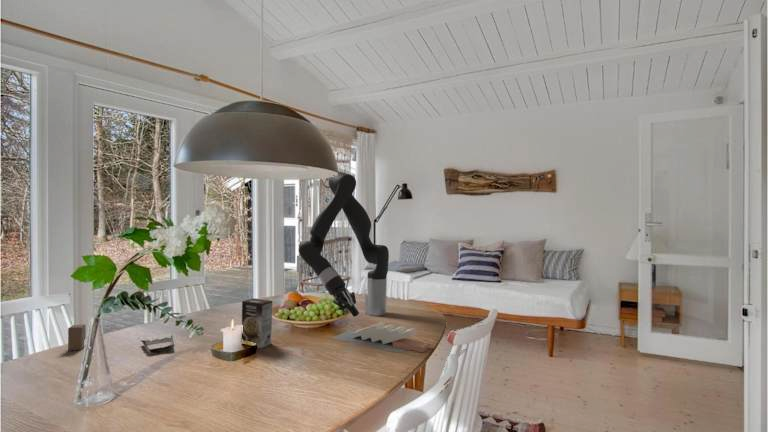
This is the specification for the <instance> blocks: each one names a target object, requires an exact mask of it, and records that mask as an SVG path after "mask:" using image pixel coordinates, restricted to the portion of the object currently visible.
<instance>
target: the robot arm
mask: <svg viewBox="0 0 768 432" xmlns="http://www.w3.org/2000/svg"><path fill="white" fill-rule="evenodd" d="M337 172H338V175H337V176H335V175H333V176H334V177H330V176H328V186H329V189H330V191H331V192H332V194H333V195H334V197H333V198H332V199H331V201H330V202H329V204H327V205H326V207H324V209H322V211H320V213H319V214H318V215H317V216H316V218H315V220H314V222H313V224H312V226H311V228H310V231H309V233H310V235H311V236H310V238H309V239H310V240H308V241H307V240H306V241H302V242H301V243H300V244H299V245H298V254H299V255H300V257H301V258H302V260H303V261H305V263H306V264H307V265H308V266H309V267H310V268H311V269H312V270H313V272H314V273H315V275H316V276H317V278H318V279H319V282H321V285H322V286H323V287H324V288H325V290H326V291H327V293H328V294H329V295H330V296H333V298H334V299H333V300H332V303H333V304H335V305H336V306H338V307H339V308H341V309H342V310H348V311H349V312H350V314H351V315H352V316H353V317H354V318H355V317H358V316H359V314H360V312H359V310H358V309H357V307H356V306H355V305H356V304H357V300H356V294H355V292H354V291H352V292H350V291H349V289H348V288H346V282H345V281H344V279H343V278H342V277H341V275H340V274H339V273H338V271H337V270H336V269H335V268H334V267H333V266H332V264H331V263H330V261H329V260H328V259H327V258H326V257H324V256H322V255H321V253H322V251H323V249H324V244H325V240H326V237H327V236H328V233H329V231H330V230H331V228H332V225H333V223H334V221H335V220H336V218H337V216H338V215H339V213H340V212H341V211H342V212H343V213H344V215H345V217H346V219H347V222H348V223H349V225H350V227H351V230H352V231H353V233H354V235H355V238H356V240H357V242H358V244H359V246H360V247H359V248H360V249H361V252H362V255H363V257H364V259H365V261H366V262H367V263H368V264H373V265H375V266H376V267H375V269H372V270H369V271H368V272H367V282H366V283H367V288H366V290H367V292H366V293H365V302H364V303H365V308H364V310H365V311H364V312H365V313H364V314H367V315H369V316H376V317H377V316H380V317H381V316H384V315H386V314H387V277H388V276H387V275H388V271H389V260H390V259H389V258H390V257H389V256H390V252H389V248H388V247H387V246H386V245H383V244H374V243H373V242H372V240H371V238H370V233H371V229H372V222H371V219H370V217H369V215H368V213H367V211H366V209H365V208H364V207H363V205H362V204H361V203H360V202H359V201H358V200H357V199H356V198H355V196H354V195H353V194H354V191H355V190H356V188H357V180H356V178H355V176H354V175H352V174H349V173H346V172H343V171H337Z"/></svg>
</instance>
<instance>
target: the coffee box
mask: <svg viewBox="0 0 768 432" xmlns="http://www.w3.org/2000/svg"><path fill="white" fill-rule="evenodd" d="M272 323H273V300H269V299H259V298H254V297H253V298H250V299H245V300H242V301H241V326H242V325H243V333H242V332H241V340H242V339H243V340H244V341H250V342H253V343H256V344H257V349H264V348H265V347H267V346H268V345H269V346H270V345H271V344H272V330H273V329H272V325H273V324H272Z"/></svg>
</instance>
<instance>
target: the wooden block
mask: <svg viewBox="0 0 768 432" xmlns="http://www.w3.org/2000/svg"><path fill="white" fill-rule="evenodd" d="M86 327H87V326H86V324H84V323H82V324H72V325H71V326H70V327H68V330H67V335H68V338H67V350H68V351H69V352H70V351H72V350H73V351H82V350H83V349H84V348H85V347H84V340H85V338H86V330H87V329H86Z"/></svg>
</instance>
